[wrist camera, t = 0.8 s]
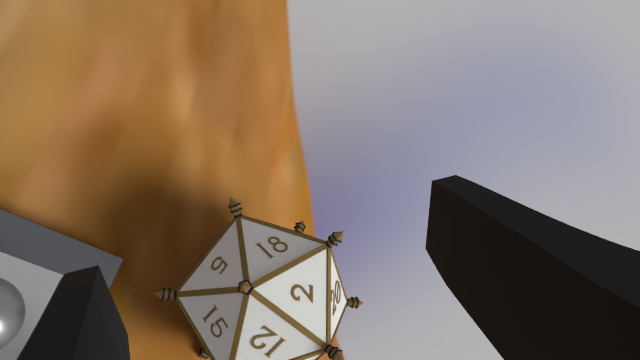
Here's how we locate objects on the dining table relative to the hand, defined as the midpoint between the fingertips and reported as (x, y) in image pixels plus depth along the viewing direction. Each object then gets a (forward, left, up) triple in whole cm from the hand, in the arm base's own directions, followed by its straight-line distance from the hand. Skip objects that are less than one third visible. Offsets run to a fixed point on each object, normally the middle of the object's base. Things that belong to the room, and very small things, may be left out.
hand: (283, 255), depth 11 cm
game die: (+2, -5, -16) cm, 17 cm away
